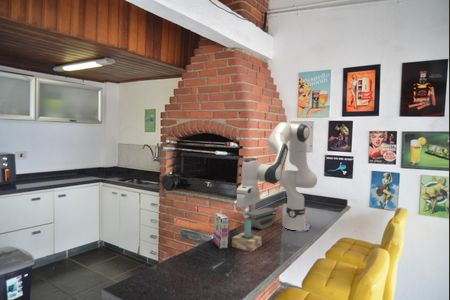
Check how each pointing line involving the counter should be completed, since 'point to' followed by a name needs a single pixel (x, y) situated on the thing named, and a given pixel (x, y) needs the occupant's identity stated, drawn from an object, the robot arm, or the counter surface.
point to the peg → (247, 229)
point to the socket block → (246, 242)
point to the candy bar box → (221, 230)
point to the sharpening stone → (262, 217)
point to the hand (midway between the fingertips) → (248, 212)
